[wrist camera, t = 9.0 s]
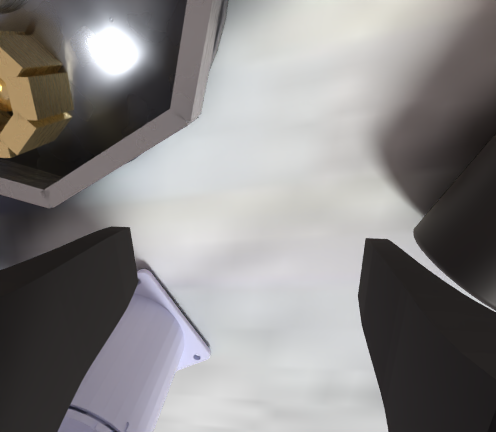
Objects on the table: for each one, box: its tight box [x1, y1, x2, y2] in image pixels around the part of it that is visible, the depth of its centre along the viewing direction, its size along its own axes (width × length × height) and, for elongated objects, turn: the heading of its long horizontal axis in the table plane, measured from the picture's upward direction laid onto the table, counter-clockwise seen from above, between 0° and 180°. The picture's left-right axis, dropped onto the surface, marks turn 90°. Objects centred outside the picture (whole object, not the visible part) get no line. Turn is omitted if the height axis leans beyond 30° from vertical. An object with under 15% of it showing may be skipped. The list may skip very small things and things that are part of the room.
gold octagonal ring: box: [0, 31, 74, 158], centre depth 18 cm, size 5×5×3 cm
